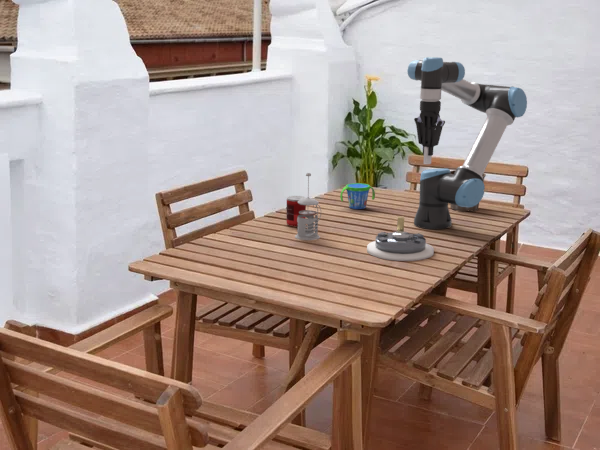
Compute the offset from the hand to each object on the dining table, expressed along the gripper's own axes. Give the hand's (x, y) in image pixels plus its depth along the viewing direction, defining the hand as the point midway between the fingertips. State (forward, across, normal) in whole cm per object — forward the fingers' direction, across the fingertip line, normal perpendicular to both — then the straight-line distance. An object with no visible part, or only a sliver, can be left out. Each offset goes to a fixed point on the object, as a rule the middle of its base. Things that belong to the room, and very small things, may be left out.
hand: (427, 163), depth 315 cm
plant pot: (+30, +23, -56) cm, 67 cm away
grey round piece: (+28, -5, +19) cm, 34 cm away
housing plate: (+29, -5, +19) cm, 35 cm away
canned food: (+30, +49, +21) cm, 61 cm away
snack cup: (+30, +54, -20) cm, 65 cm away
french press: (+30, +31, +30) cm, 53 cm away
